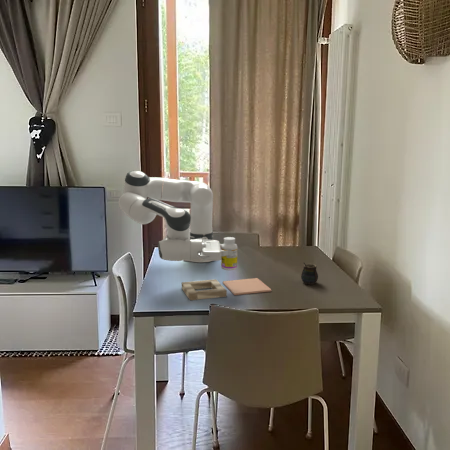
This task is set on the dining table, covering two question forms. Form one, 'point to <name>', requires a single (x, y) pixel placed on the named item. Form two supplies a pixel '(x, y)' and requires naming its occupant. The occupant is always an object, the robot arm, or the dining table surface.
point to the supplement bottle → (229, 260)
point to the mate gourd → (309, 274)
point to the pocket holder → (204, 294)
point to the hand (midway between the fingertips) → (231, 250)
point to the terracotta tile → (246, 286)
